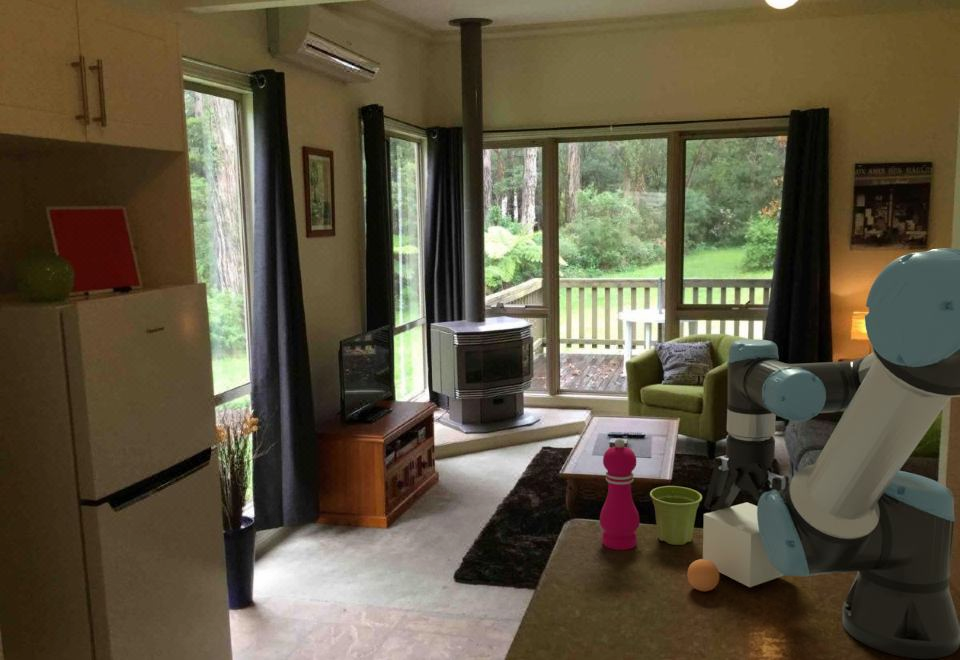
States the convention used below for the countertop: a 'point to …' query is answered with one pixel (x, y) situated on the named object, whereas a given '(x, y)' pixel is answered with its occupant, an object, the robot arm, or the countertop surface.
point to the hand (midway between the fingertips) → (747, 563)
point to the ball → (703, 575)
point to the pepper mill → (619, 499)
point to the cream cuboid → (736, 544)
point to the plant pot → (675, 513)
